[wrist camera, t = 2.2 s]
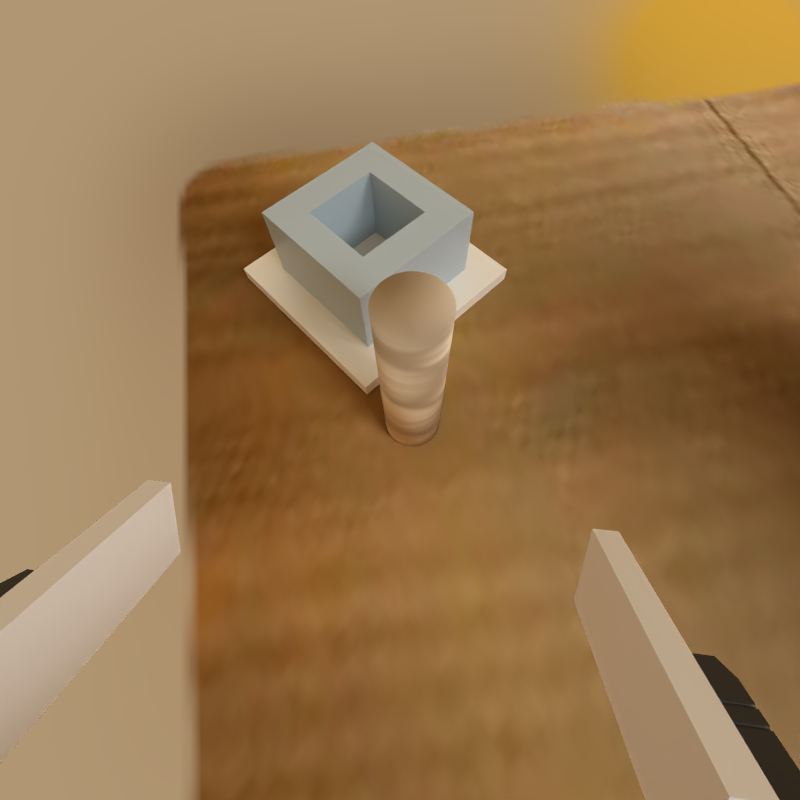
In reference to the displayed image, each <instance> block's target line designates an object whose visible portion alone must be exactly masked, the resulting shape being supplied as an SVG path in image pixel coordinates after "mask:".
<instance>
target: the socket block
mask: <svg viewBox="0 0 800 800" xmlns="http://www.w3.org/2000/svg"><path fill="white" fill-rule="evenodd" d="M262 215H263V217H264V220H265V222H266V225H267V227H268V230H269V233H270V235H271V238H272V240H273V243H274V245H275V248H274V249H272V250H271V251H269V252H268V253H266V254H265V255H263V256H262V257H260V258H259V259H257V260H256V261H254V262H253V263H251V264H250V265H248V266H247V267H245V268H244V271H245V273H246V275H247V277H248V278H249V279H250V280H251V281H252V282H253V283H254V284H255V285H256V286H257V287H258V288H259V289H260V290H261V291H262V292H263V293H264V294H265V295H266V296H267V297H268V298H269V299H270V300H271V301H272V302H273V303H274V304H275V305H276V306H277V307H278V308H279V309H280V310H281V311H282V312H283V313H284V314H285V315H286V316H287V317H288V318H289V319H290V320H291V321H292V322H294V323H295V324H296V325H297V326H298V327H299V328H300V329H301V330H302V331H303V332H304V333H305V334H306V335H307V336H308V337H309V338H310V339H311V340H312V341H313V342H314V343H315V344H316V345H317V346H318V347H319V348H320V349H321V350H322V351H323V352H324V353H325V354H326V355H327V356H328V357H329V358H330V359H331V360H332V361H333V362H334V363H335V364H336V365H337V366H338V367H339V368H340V369H342V370H343V371H344V372H345V373H346V374H347V375H348V376H349V377H350V378H351V379H352V380H353V381H354V382H355V383H356V384H357V385H358V386H359V387H360V388H361V389H362V390H363V391H364V392H365V393H366V394H368V393H369V392H371V391H372V390H373V389H374V388H375V387H377V386H378V385H379V384H380V383H379V376H378V370H377V363H376V357H375V350H374V344H373V337H372V331H371V325H370V318H369V312H368V303H369V299H370V296H371V294H372V292H373V290H374V289H375V288H376V286H377V285H378V284H379V283H380V282H382V281H383V280H384V279H386V278H388V277H390V276H391V275H394V274H397V273H401V272H406V271H419V272H425V273H428V274H431V275H434V276H436V277H438V278H439V279H441V280H442V281H443V282H445V283H446V284H447V285H448V287H449V288H450V289H451V291H452V292H453V294H454V297H455V300H456V315H455V320H456V319H457V318H459V317H460V316H461V315H462V314H463V313H464V312H466V311H467V310H468V309H469V308H470V307H472V306H473V305H474V304H475V303H476V302H478V301H479V300H480V299H481V298H482V297H483V296H485V295H486V294H487V293H488V292H489V291H491V290H492V289H493V288H494V287H495V286H497V285H498V284H499V283H500V282H501V281H502V280H504V278H505V274H506V271H507V269H505V268H504V267H503V266H501V265H500V264H499V263H497V262H496V261H494V260H493V259H492V258H490V257H489V256H488V255H486V254H485V253H483V252H482V251H481V250H479V249H478V248H477V247H475V246H474V245H472V244H471V243H470V242H469V240H470V234H471V228H472V221H473V215H474V212H473V211H472V210H470V209H469V208H468V207H466V206H465V205H463V204H462V203H460V202H459V201H457V200H456V199H455V198H453V197H452V196H450V195H449V194H447V193H446V192H444V191H443V190H442V189H440V188H439V187H437V186H436V185H434V184H433V183H431V182H430V181H428V180H427V179H426V178H424V177H423V176H421V175H420V174H418V173H417V172H415V171H414V170H413V169H411V168H410V167H408V166H407V165H405V164H404V163H402V162H401V161H400V160H398V159H397V158H395V157H394V156H392V155H391V154H389V153H388V152H387V151H385V150H384V149H382V148H381V147H379V146H378V145H376V144H375V143H374V142H372V143H370V144H368V145H367V146H365V147H364V148H362V149H361V150H359V151H357V152H356V153H354V154H353V155H351V156H350V157H348V158H346V159H345V160H343V161H342V162H340V163H339V164H337V165H335V166H334V167H332V168H331V169H329V170H328V171H326V172H324V173H323V174H321V175H320V176H318V177H316V178H315V179H313V180H312V181H310V182H309V183H307V184H305V185H304V186H302V187H301V188H299V189H298V190H296V191H294V192H293V193H291V194H290V195H288V196H287V197H285V198H283V199H282V200H280V201H279V202H277V203H276V204H274V205H272V206H271V207H269V208H268V209H266V210H264V211H263V212H262Z"/></svg>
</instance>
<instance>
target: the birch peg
mask: <svg viewBox="0 0 800 800" xmlns="http://www.w3.org/2000/svg"><path fill="white" fill-rule="evenodd" d="M368 312H369V318H370V325H371V331H372V337H373V344H374V350H375V357H376V363H377V370H378V376H379V383H380V389H381V396H382V402H383V408H384V415H385V421H386V427H387V430H388V432H389V434H390V436H391V437H392V438H393V439H394V440H395V441H397V442H398V443H400V444H403V445H406V446H419V445H422V444H425V443H427V442H428V441H430V440H431V439H432V438H433V437H434V435H435V434H436V432H437V430H438V427H439V421H440V415H441V408H442V401H443V395H444V388H445V381H446V375H447V368H448V361H449V355H450V348H451V341H452V335H453V328H454V321H455V315H456V300H455V297H454V294H453V292H452V291H451V289H450V288H449V287H448V285H447V284H446V283H445V282H443V281H442V280H441V279H439V278H438V277H436V276H434V275H431V274H428V273H425V272H419V271H406V272H401V273H397V274H394V275H391V276H390V277H388V278H386V279H384V280H383V281H382V282H380V283H379V284H378V285H377V286H376V288H375V289H374V290H373V292H372V294H371V296H370V299H369V303H368Z"/></svg>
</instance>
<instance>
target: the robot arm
mask: <svg viewBox="0 0 800 800" xmlns="http://www.w3.org/2000/svg"><path fill="white" fill-rule="evenodd" d="M180 553H181V550H180V544H179V536H178V529H177V522H176V515H175V508H174V501H173V494H172V488H171V482H165V481H156V480H147V481H146V482H144V483H143V484H142V485H141V486H139V487H138V488H137V489H136V490H134V491H133V492H132V493H131V494H129V495H128V496H127V497H126V498H124V499H123V500H122V501H121V502H119V503H118V504H117V505H116V506H114V507H113V508H112V509H111V510H109V511H108V512H107V513H106V514H104V515H103V516H102V517H101V518H99V519H98V520H97V521H96V522H94V523H93V524H92V525H91V526H90V527H88V528H87V529H86V530H84V531H83V532H82V533H81V534H80V535H78V536H77V537H76V538H74V539H73V540H72V541H71V542H69V543H68V544H67V545H66V546H64V547H63V548H62V549H61V550H59V551H58V552H57V553H56V554H55V555H53V556H52V557H51V558H49V559H48V560H47V561H46V562H45V563H43V564H42V565H41V566H39V567H38V568H37V569H36V570H28V569H27V570H25V571H23V572H21V573H19V574H17V575H15V576H14V577H11V578H10V579H8V580H6V581H4V582H2V583H0V764H1V763H2V761H3V760H4V759H5V758H6V757H7V756H8V755H9V753H10V752H11V751H12V750H13V749H14V747H15V746H16V745H17V744H18V743H19V742H20V740H21V739H22V738H23V737H24V736H25V735H26V733H27V732H28V731H29V730H30V729H31V728H32V726H33V725H34V724H35V723H36V722H37V720H38V719H39V718H40V717H41V716H42V715H43V713H44V712H45V711H46V710H47V709H48V708H49V706H50V705H51V704H52V703H53V702H54V700H55V699H56V698H57V697H58V696H59V695H60V693H61V692H62V691H63V690H64V689H65V688H66V686H67V685H68V684H69V683H70V682H71V681H72V679H73V678H74V677H75V676H76V675H77V674H78V672H79V671H80V670H81V669H82V668H83V666H84V665H85V664H86V663H87V662H88V661H89V659H90V658H91V657H92V656H93V655H94V654H95V652H96V651H97V650H98V649H99V648H100V647H101V645H102V644H103V643H104V642H105V641H106V640H107V638H108V637H109V636H110V635H111V634H112V632H113V631H114V630H115V629H116V628H117V627H118V625H119V624H120V623H121V622H122V621H123V620H124V618H125V617H126V616H127V615H128V614H129V613H130V611H131V610H132V609H133V608H134V607H135V605H136V604H137V603H138V602H139V601H140V600H141V598H142V597H143V596H144V595H145V594H146V592H147V591H148V590H149V589H150V588H151V587H152V585H153V584H154V583H155V582H156V581H157V580H158V578H159V577H160V576H161V575H162V574H163V573H164V571H165V570H166V569H167V568H168V567H169V566H170V564H171V563H172V562H173V561H174V560H175V558H176V557H177V556H178V555H179V554H180ZM574 603H575V605H576V608H577V611H578V614H579V617H580V619H581V622H582V625H583V628H584V630H585V633H586V636H587V639H588V642H589V644H590V647H591V650H592V653H593V656H594V658H595V661H596V664H597V667H598V670H599V672H600V675H601V678H602V681H603V684H604V686H605V689H606V692H607V695H608V698H609V700H610V703H611V706H612V709H613V712H614V714H615V717H616V720H617V723H618V726H619V728H620V731H621V734H622V737H623V740H624V742H625V745H626V748H627V751H628V754H629V756H630V759H631V762H632V765H633V768H634V770H635V773H636V776H637V779H638V781H639V784H640V787H641V790H642V793H643V795H644V798H645V800H800V771H799V769H798V768H797V766H796V765H795V763H794V762H793V760H792V759H791V757H790V756H789V754H788V753H787V751H786V750H785V748H784V747H783V745H782V744H781V742H780V741H779V739H778V738H777V736H776V735H775V733H774V732H773V731H771V730H770V728H769V724H768V723H767V721H766V720H765V718H764V717H763V715H762V714H761V712H760V711H759V709H756V708H755V703H754V702H753V700H752V699H751V697H750V696H749V694H748V693H747V691H746V690H745V688H744V687H743V685H742V684H741V682H740V681H739V679H738V678H737V677H736V676H735V675H734V674H732V673H731V672H730V671H729V670H728V669H727V668H726V667H725V666H724V665H723V664H722V663H721V662H720V661H719V660H718V659H717V658H716V657H715V656H709V655H701V654H694V653H691V651H690V649H689V648H688V646H687V644H686V643H685V641H684V639H683V638H682V636H681V634H680V633H679V631H678V629H677V628H676V626H675V624H674V623H673V621H672V619H671V618H670V616H669V614H668V613H667V611H666V609H665V608H664V606H663V604H662V603H661V601H660V599H659V598H658V596H657V594H656V593H655V591H654V589H653V588H652V586H651V584H650V583H649V581H648V579H647V578H646V576H645V574H644V573H643V571H642V569H641V568H640V566H639V564H638V563H637V561H636V559H635V558H634V556H633V554H632V553H631V551H630V549H629V548H628V546H627V544H626V543H625V541H624V539H623V538H622V536H621V534H620V533H619V531H610V530H601V529H592V532H591V536H590V540H589V544H588V547H587V551H586V555H585V559H584V563H583V566H582V570H581V574H580V578H579V582H578V586H577V589H576V593H575V597H574Z"/></svg>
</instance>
